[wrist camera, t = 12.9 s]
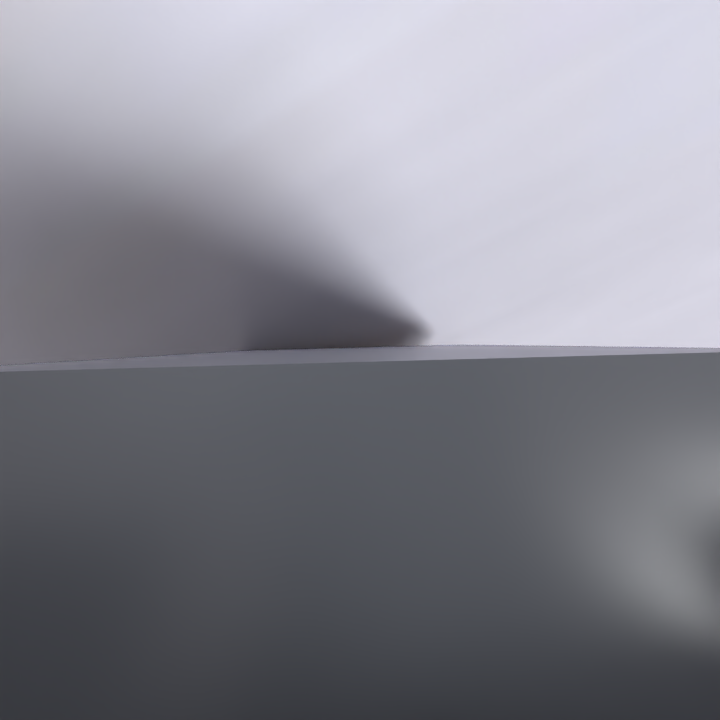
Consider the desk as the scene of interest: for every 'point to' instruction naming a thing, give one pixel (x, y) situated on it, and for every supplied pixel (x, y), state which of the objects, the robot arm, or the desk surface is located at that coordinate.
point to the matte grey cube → (362, 535)
